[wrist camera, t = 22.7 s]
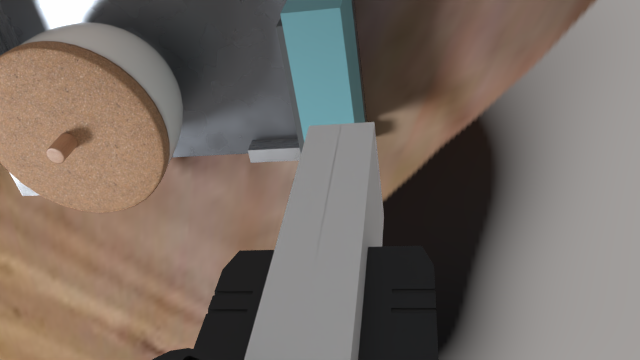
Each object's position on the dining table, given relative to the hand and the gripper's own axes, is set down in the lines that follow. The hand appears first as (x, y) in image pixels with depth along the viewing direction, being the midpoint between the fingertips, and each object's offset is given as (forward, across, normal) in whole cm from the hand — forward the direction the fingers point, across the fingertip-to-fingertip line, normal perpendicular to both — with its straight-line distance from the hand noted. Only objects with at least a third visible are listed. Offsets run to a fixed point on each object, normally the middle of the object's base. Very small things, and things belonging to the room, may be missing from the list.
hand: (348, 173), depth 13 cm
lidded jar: (+22, -18, -6) cm, 29 cm away
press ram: (+21, -4, -7) cm, 22 cm away
